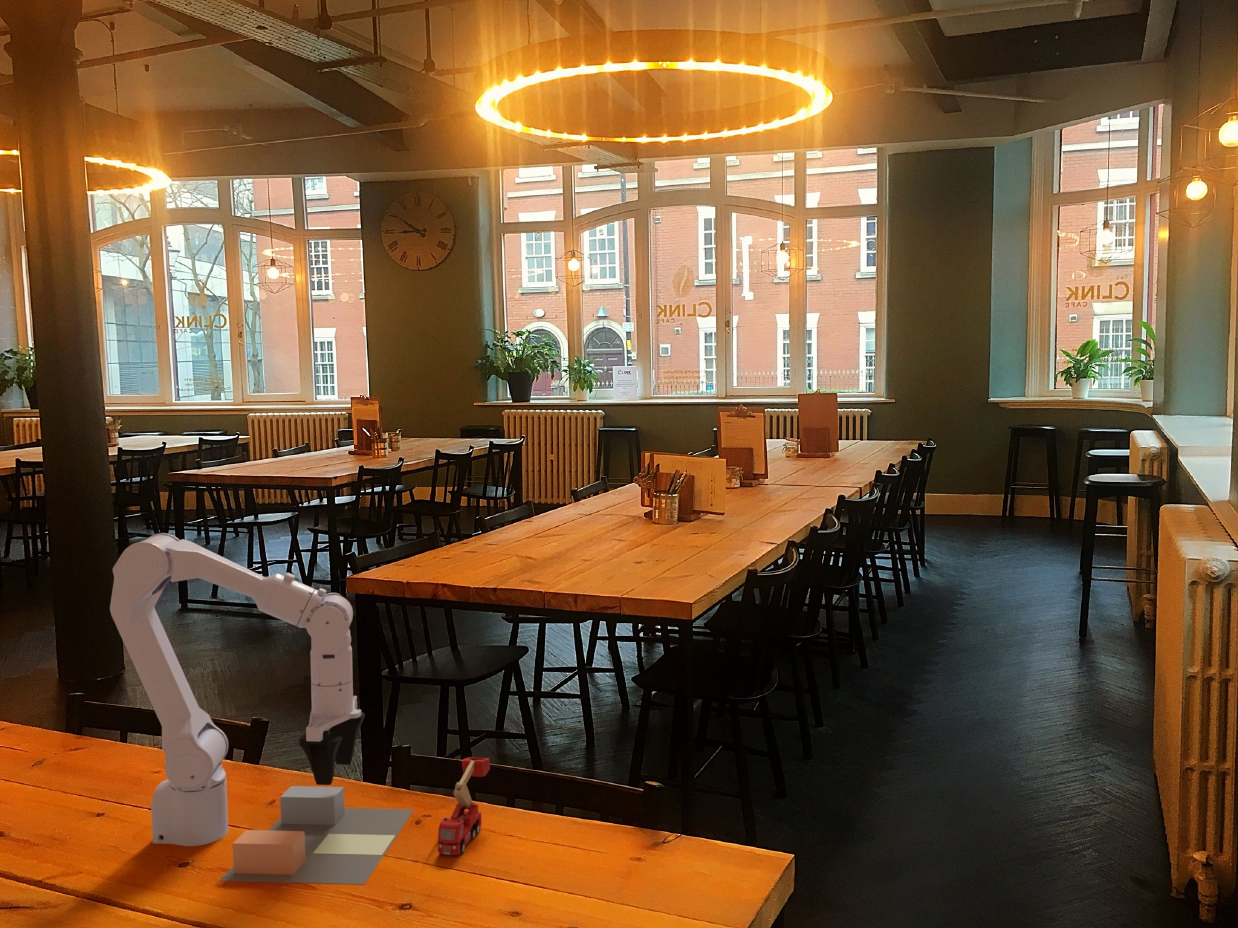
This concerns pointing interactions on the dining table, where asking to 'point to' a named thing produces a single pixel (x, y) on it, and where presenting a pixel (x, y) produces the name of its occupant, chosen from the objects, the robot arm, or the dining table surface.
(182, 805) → the robot arm
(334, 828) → the baseplate
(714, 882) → the dining table surface
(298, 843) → the terracotta brick
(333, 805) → the slate brick
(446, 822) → the toy fire truck
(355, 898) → the dining table surface
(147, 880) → the dining table surface
